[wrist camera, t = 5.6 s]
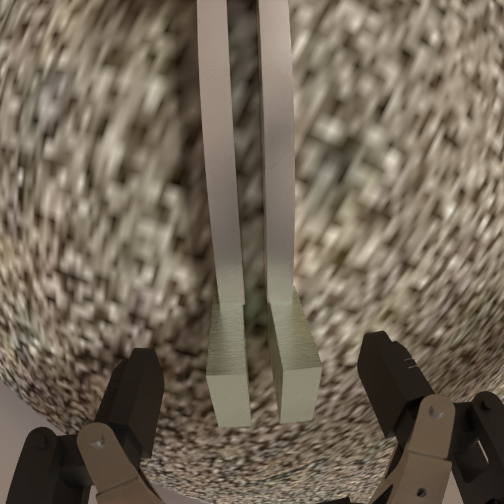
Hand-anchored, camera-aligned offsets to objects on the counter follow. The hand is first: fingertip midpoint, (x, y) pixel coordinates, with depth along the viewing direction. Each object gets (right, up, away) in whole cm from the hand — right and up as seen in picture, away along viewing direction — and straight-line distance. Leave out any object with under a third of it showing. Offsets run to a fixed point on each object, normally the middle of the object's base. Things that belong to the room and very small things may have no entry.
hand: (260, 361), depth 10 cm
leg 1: (-2, +8, 0) cm, 9 cm away
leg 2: (+1, +9, 0) cm, 9 cm away
